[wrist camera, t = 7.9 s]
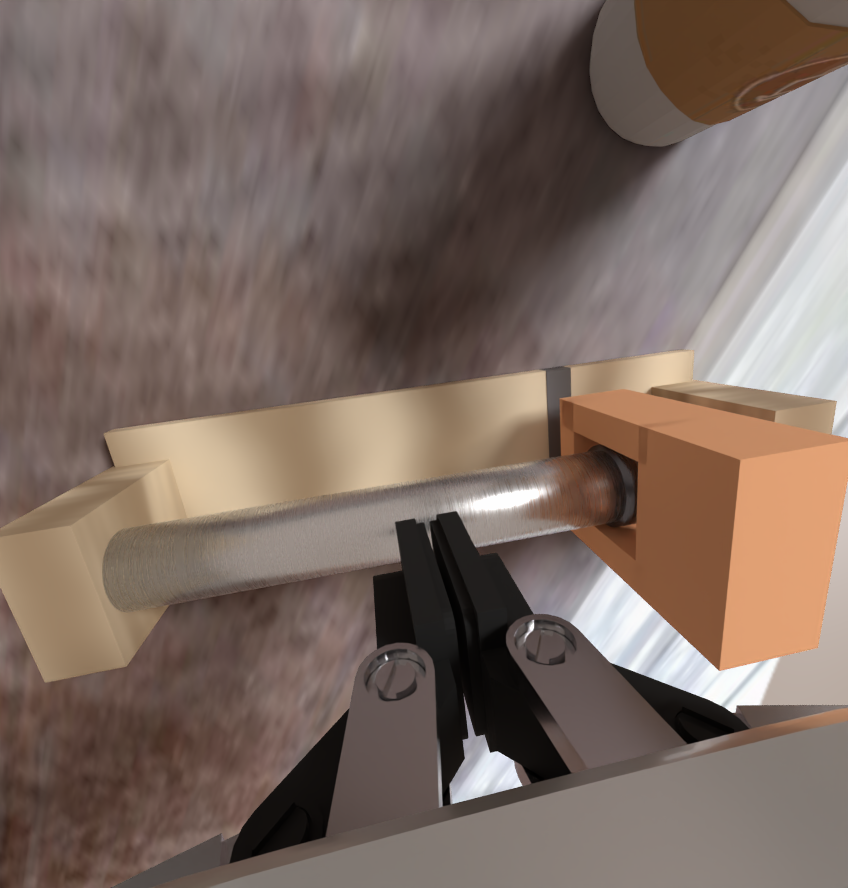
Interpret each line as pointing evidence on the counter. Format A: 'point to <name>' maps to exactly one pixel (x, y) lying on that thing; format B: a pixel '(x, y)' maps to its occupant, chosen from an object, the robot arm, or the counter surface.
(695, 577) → the collar
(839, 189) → the counter surface
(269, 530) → the pipe
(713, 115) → the coffee cup
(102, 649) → the beige long frame
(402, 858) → the robot arm
